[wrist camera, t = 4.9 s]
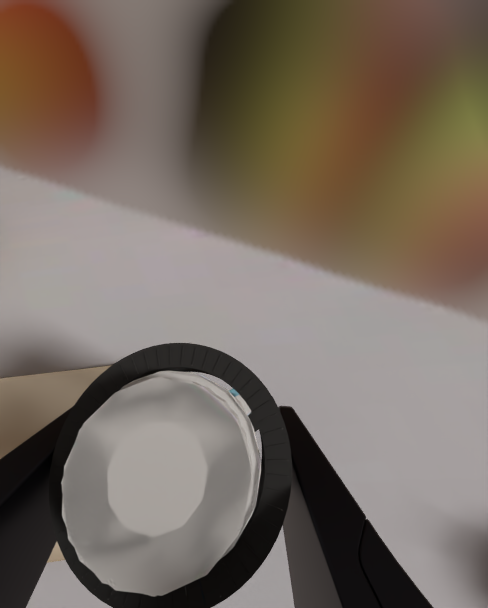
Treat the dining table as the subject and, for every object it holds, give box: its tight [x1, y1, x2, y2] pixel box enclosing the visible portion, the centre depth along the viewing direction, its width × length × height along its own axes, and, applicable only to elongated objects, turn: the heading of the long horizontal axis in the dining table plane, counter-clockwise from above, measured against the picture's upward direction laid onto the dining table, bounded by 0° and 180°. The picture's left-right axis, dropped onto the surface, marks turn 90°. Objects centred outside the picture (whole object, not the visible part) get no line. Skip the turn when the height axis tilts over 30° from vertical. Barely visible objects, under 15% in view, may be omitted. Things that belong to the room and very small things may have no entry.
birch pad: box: [0, 366, 110, 563], centre depth 17 cm, size 10×10×1 cm
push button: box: [49, 343, 292, 608], centre depth 10 cm, size 7×5×10 cm
